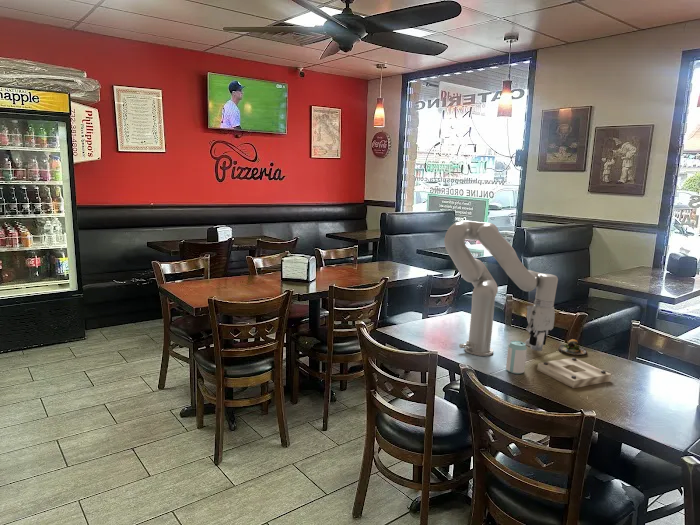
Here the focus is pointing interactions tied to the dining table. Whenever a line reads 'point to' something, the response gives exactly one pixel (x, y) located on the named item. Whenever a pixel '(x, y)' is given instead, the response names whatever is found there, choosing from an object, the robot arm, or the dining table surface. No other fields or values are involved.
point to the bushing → (539, 341)
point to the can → (516, 357)
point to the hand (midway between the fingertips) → (537, 343)
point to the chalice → (529, 309)
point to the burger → (572, 348)
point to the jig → (574, 372)
